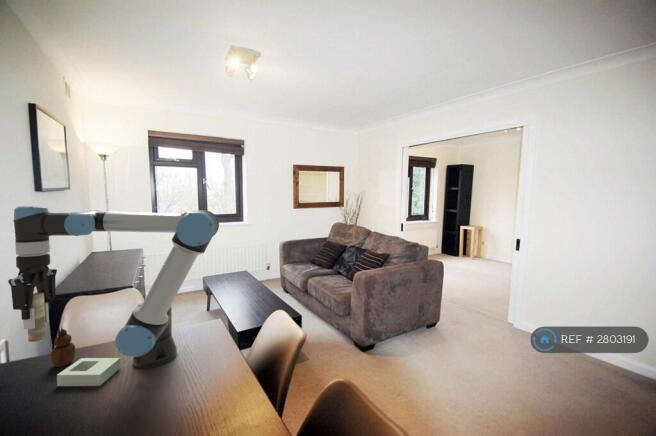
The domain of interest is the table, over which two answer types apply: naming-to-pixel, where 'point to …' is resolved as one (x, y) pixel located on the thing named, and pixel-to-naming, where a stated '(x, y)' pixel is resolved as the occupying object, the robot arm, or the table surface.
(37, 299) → the dowel
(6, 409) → the table surface
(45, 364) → the table surface
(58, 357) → the wooden figurine
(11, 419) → the table surface
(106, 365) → the socket block
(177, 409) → the table surface
